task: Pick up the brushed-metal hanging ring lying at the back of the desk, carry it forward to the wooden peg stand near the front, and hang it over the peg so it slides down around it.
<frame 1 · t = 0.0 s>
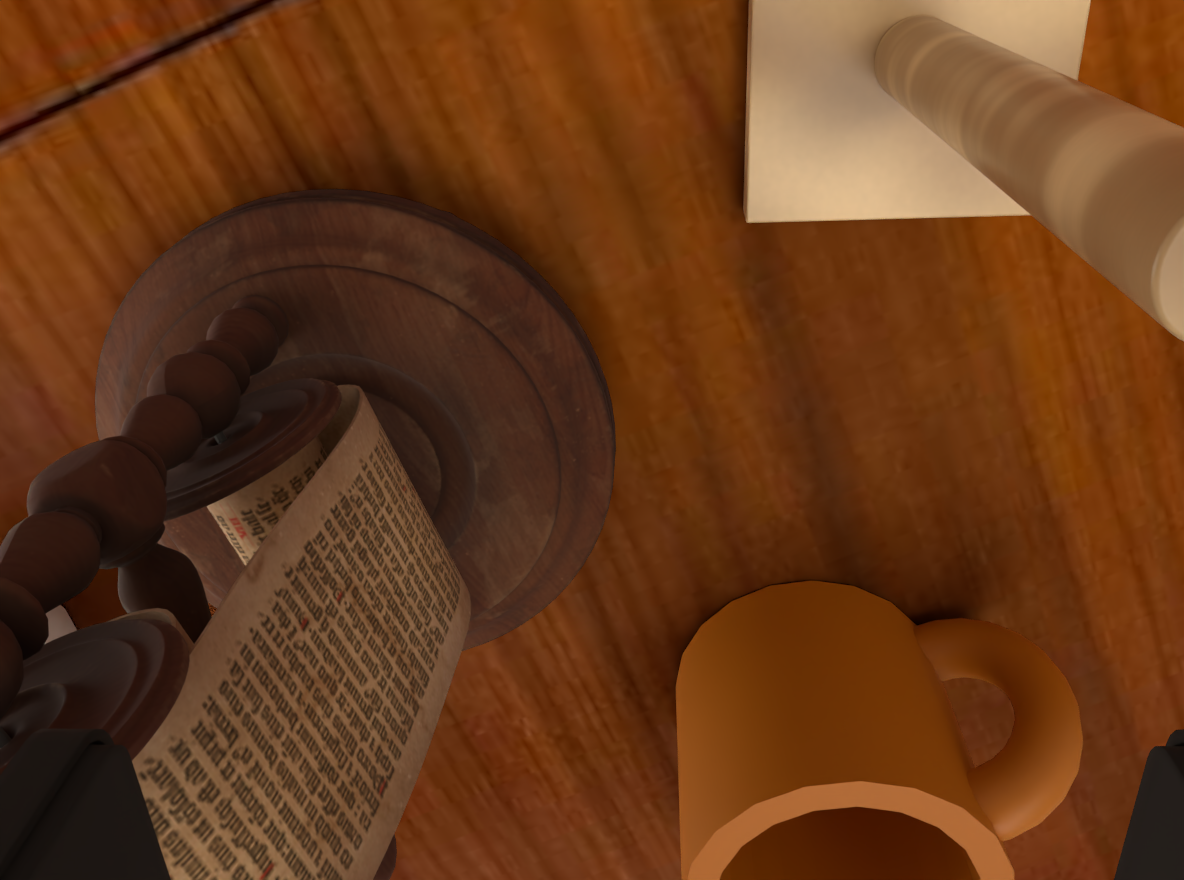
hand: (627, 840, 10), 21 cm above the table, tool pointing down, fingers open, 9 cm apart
bottle: (14, 625, 37), on the table
wooden peg stand: (906, 53, 26), on the table
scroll: (376, 414, 32), on the table
mug: (847, 668, 36), on the table
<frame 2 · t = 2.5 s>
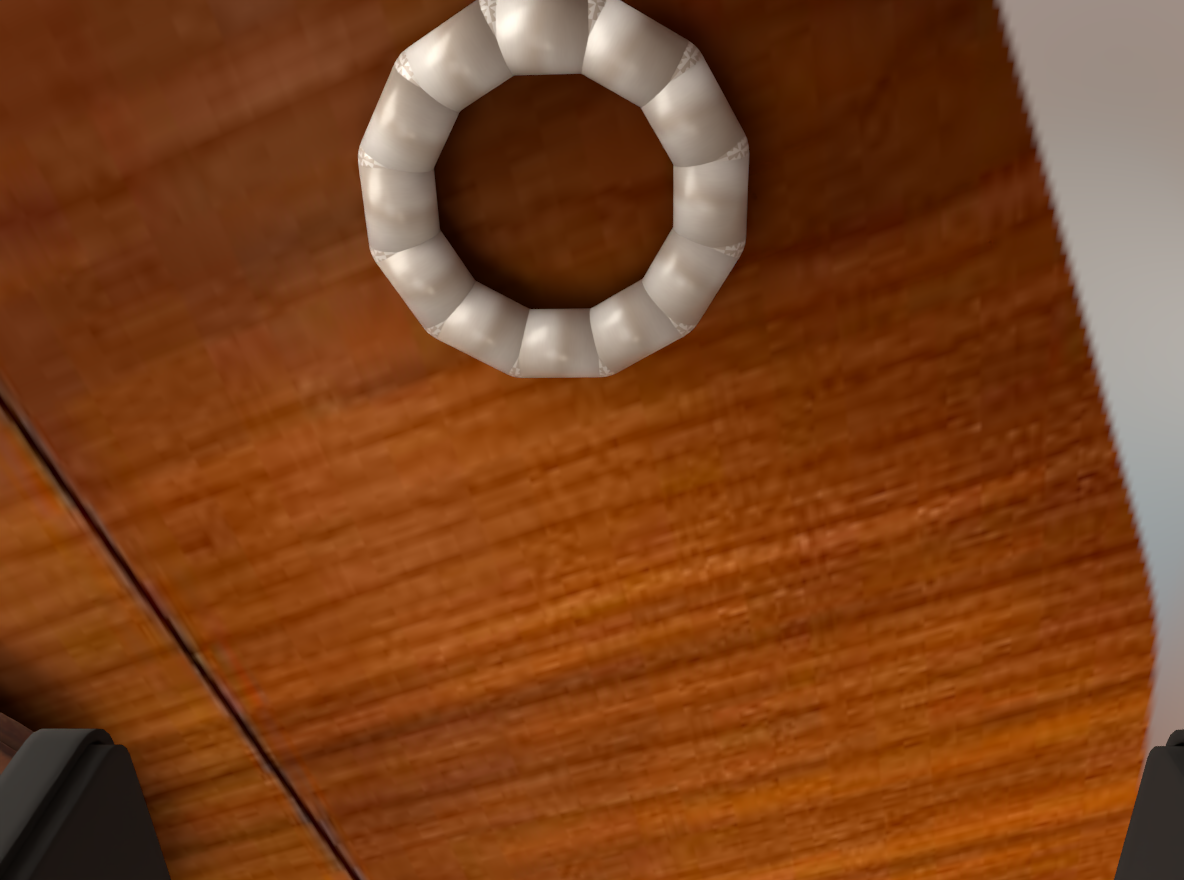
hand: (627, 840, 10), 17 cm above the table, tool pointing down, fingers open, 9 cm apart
ring: (554, 198, 23), point 1 cm above the table
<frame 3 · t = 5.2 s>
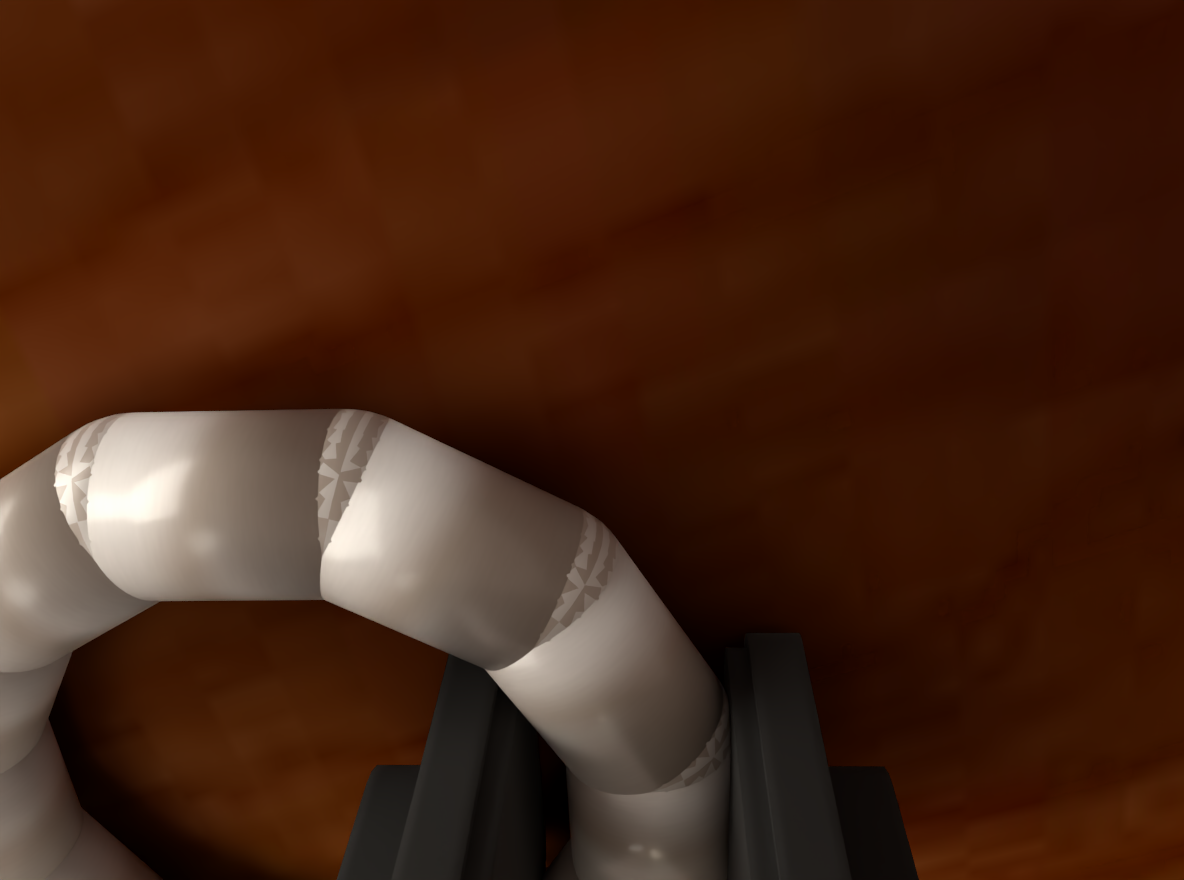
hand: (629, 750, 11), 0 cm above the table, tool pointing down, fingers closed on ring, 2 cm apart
ring: (308, 797, 10), point 1 cm above the table, touching gripper
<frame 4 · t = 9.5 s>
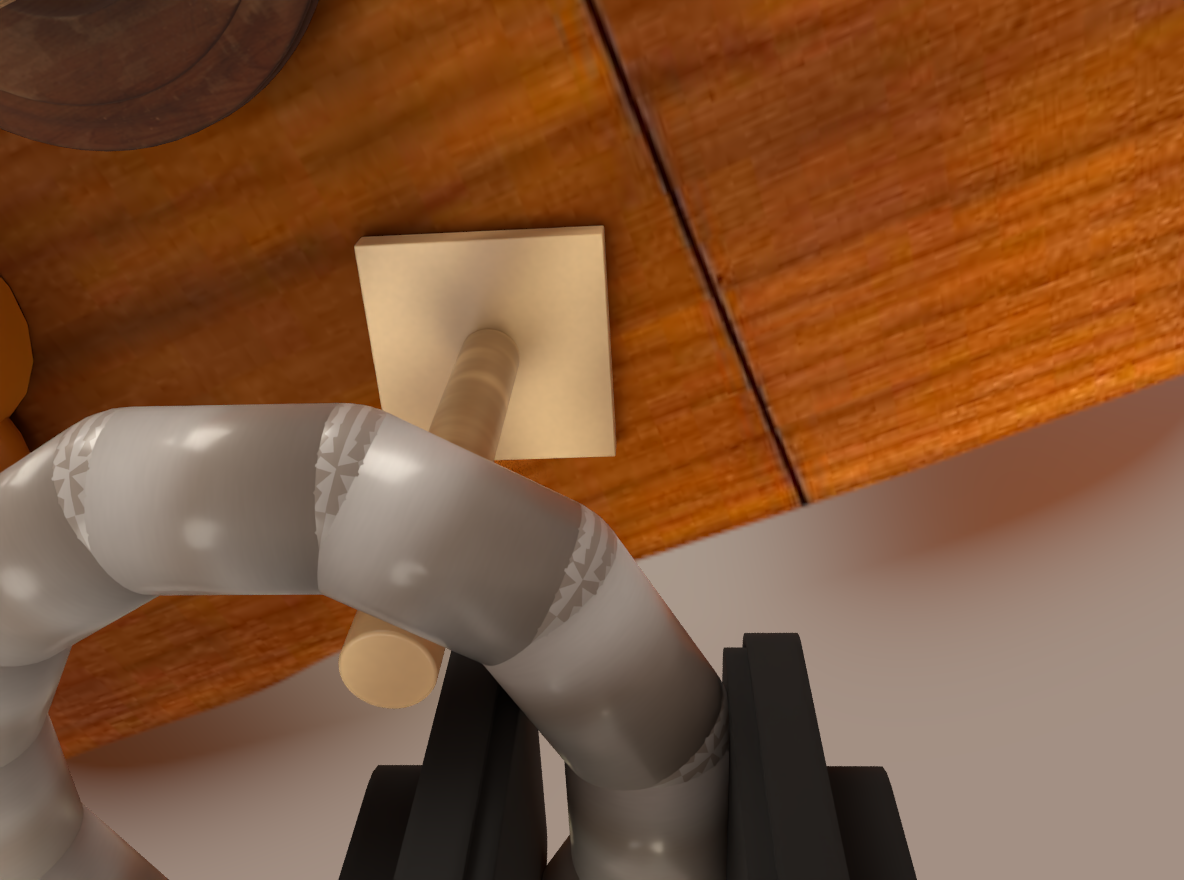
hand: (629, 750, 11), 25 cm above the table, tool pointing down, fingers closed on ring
wooden peg stand: (494, 344, 36), on the table
ring: (307, 792, 10), point 26 cm above the table, touching gripper
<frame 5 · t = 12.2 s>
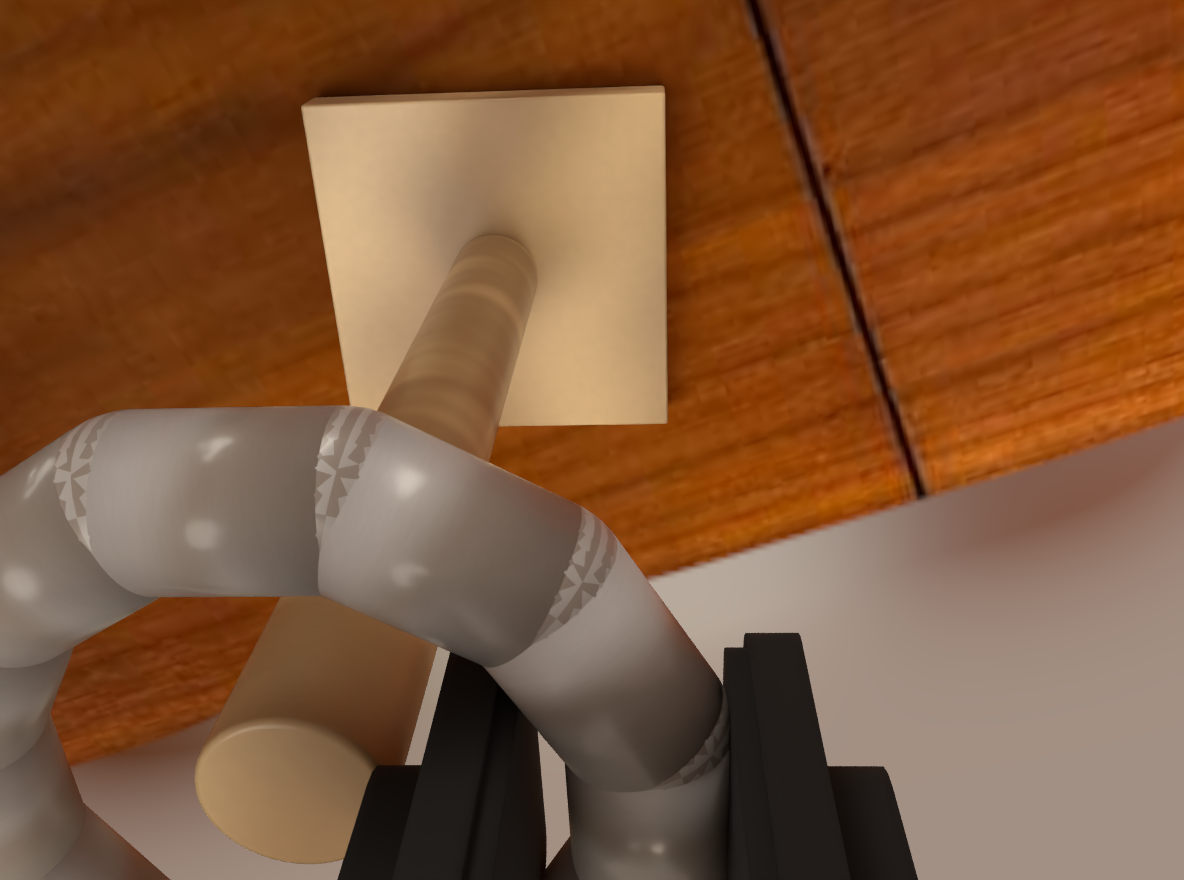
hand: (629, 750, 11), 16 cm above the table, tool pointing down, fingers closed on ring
wooden peg stand: (501, 262, 25), on the table
ring: (308, 793, 10), point 17 cm above the table, touching gripper
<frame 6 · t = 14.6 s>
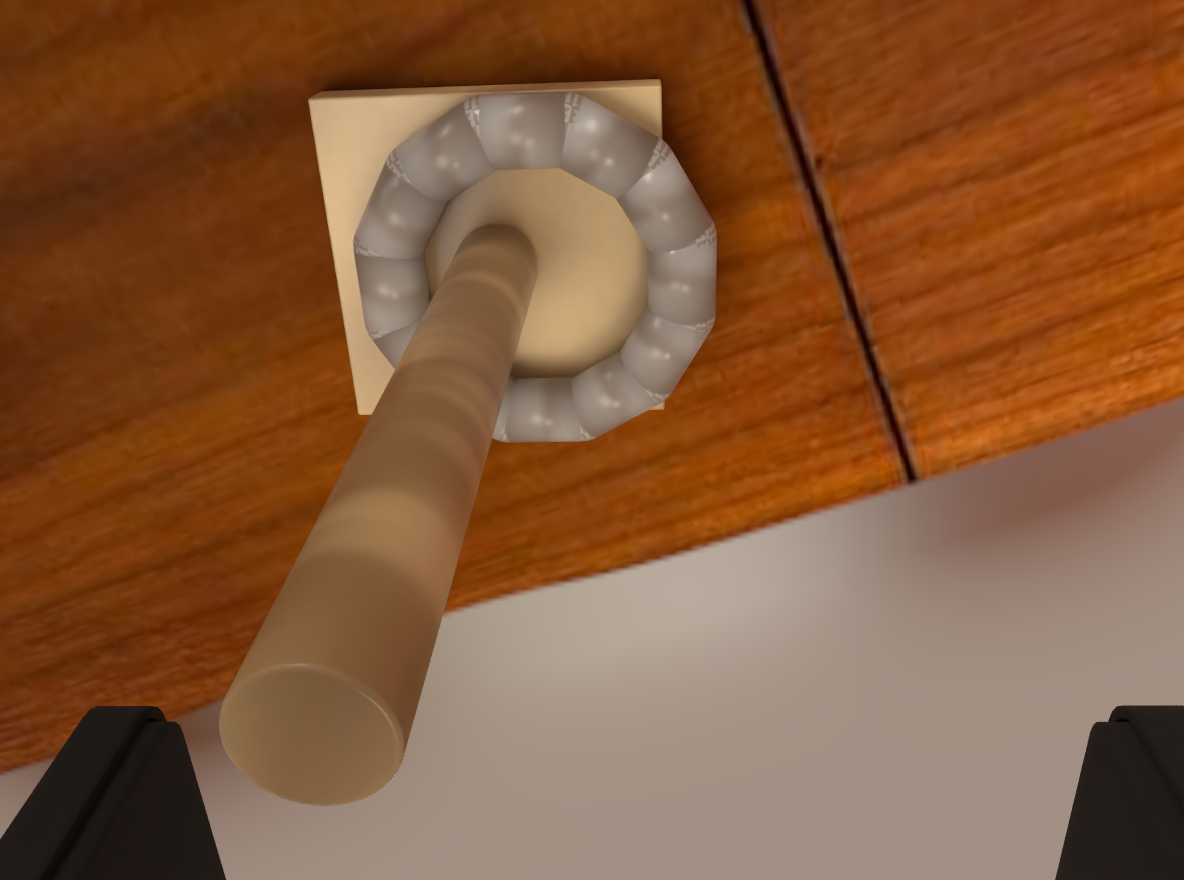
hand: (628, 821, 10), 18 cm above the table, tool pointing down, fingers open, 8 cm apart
wooden peg stand: (502, 251, 26), on the table
ring: (536, 279, 25), point 2 cm above the table, touching wooden peg stand
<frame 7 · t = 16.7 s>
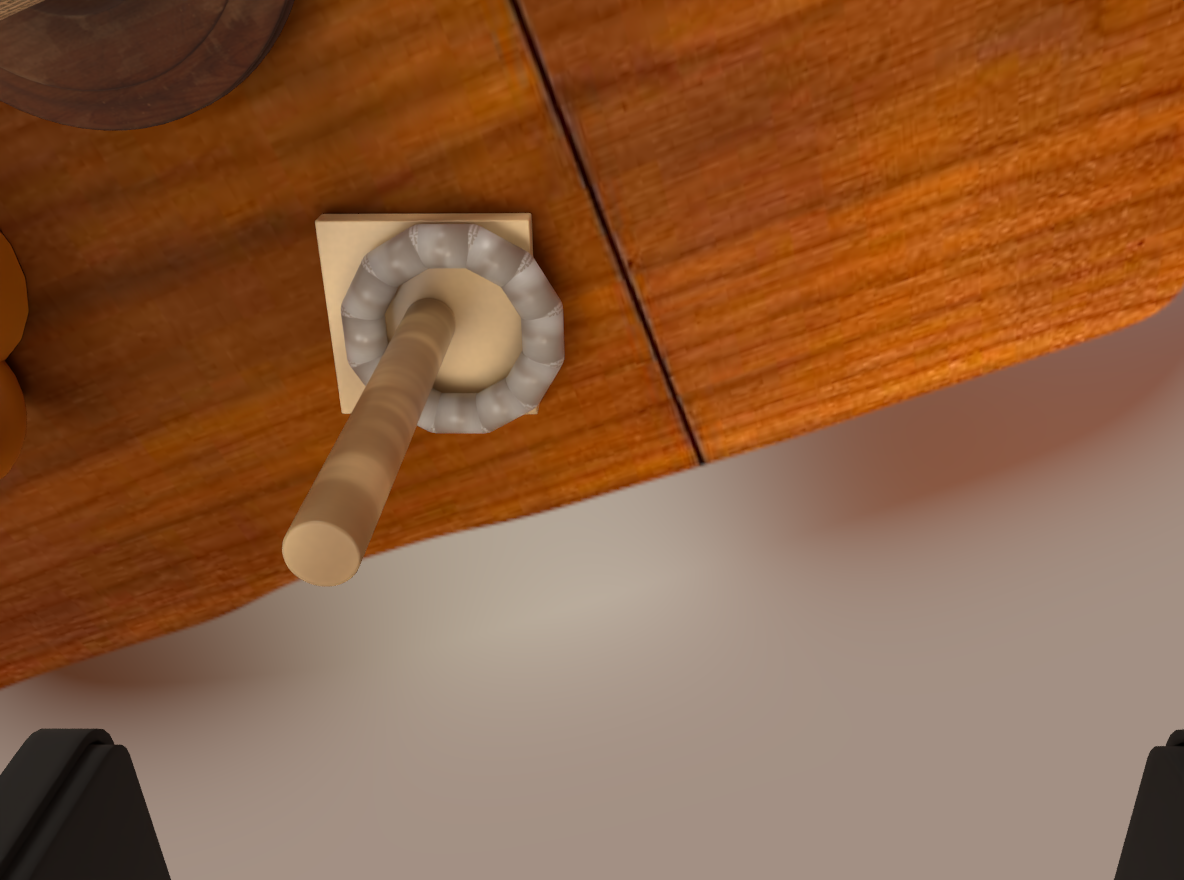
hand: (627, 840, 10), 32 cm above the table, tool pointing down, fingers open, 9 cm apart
wooden peg stand: (435, 312, 41), on the table
ring: (453, 333, 40), point 2 cm above the table, touching wooden peg stand
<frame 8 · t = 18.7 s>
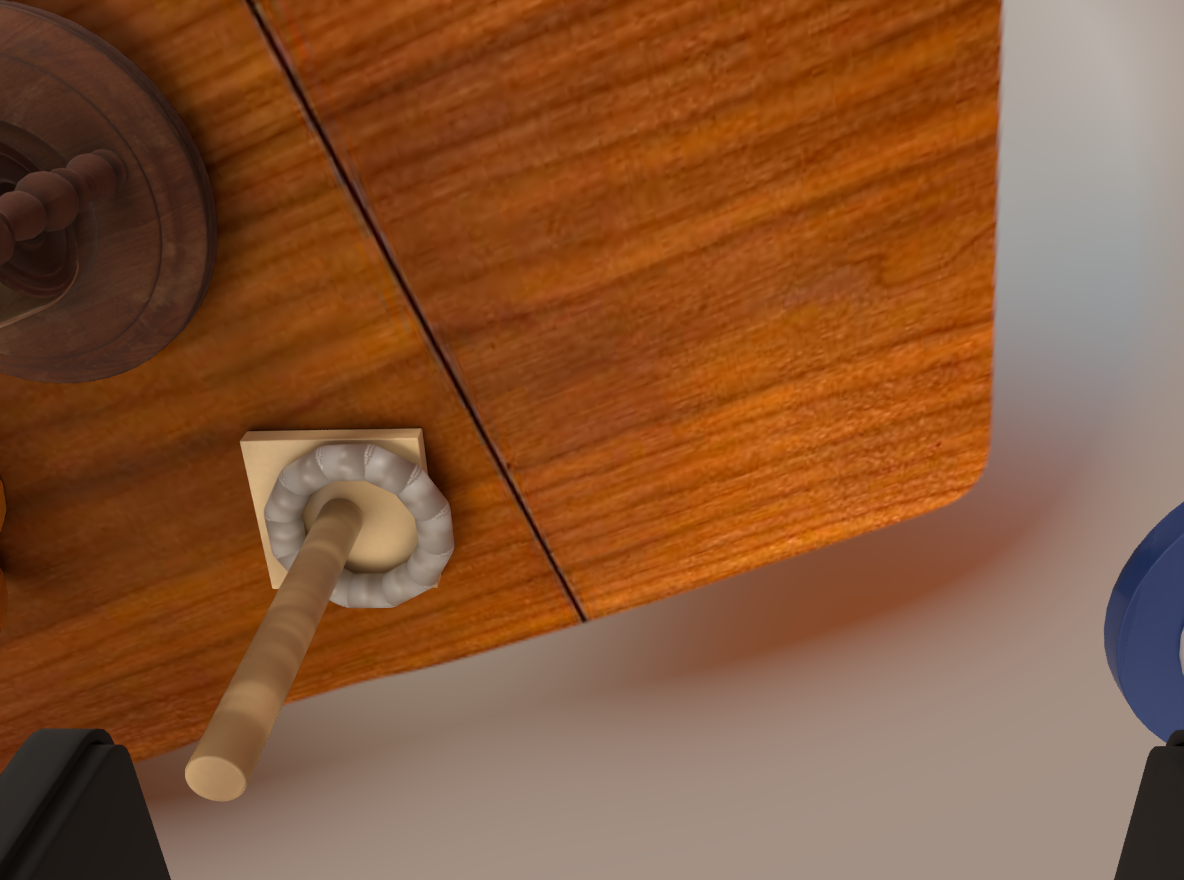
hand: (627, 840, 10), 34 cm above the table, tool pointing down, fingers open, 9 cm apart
wooden peg stand: (347, 505, 49), on the table
ring: (359, 528, 47), point 2 cm above the table, touching wooden peg stand
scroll: (51, 190, 43), on the table
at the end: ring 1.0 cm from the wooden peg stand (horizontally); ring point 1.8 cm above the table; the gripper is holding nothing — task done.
